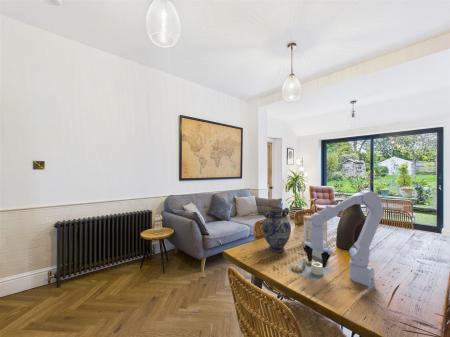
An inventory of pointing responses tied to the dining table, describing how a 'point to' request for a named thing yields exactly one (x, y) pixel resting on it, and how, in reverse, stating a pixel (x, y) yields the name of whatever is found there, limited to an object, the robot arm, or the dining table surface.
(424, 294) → the dining table surface
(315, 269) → the octagonal pipe segment
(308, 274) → the gear board
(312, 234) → the robot arm
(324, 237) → the coffeecake box
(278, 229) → the decorative vase
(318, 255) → the photo printer
